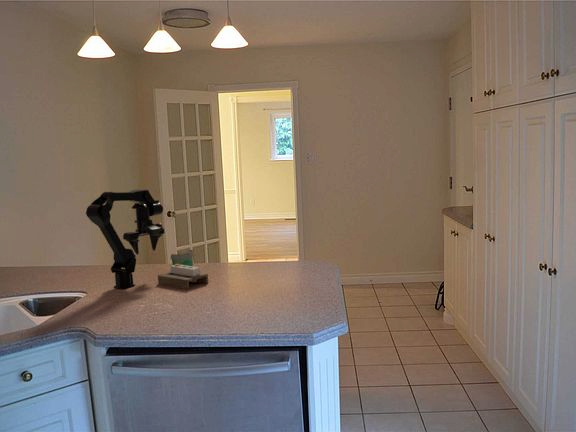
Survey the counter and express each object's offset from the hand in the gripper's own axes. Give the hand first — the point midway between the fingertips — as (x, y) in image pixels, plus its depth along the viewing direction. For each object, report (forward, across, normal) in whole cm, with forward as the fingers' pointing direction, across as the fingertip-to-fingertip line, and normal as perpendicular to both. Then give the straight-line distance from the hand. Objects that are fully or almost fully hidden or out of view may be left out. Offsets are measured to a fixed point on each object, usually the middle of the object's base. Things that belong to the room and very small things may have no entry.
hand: (145, 252), depth 232 cm
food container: (+12, +15, -9) cm, 21 cm away
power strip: (+11, +3, -21) cm, 24 cm away
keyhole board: (+12, +2, -21) cm, 24 cm away
